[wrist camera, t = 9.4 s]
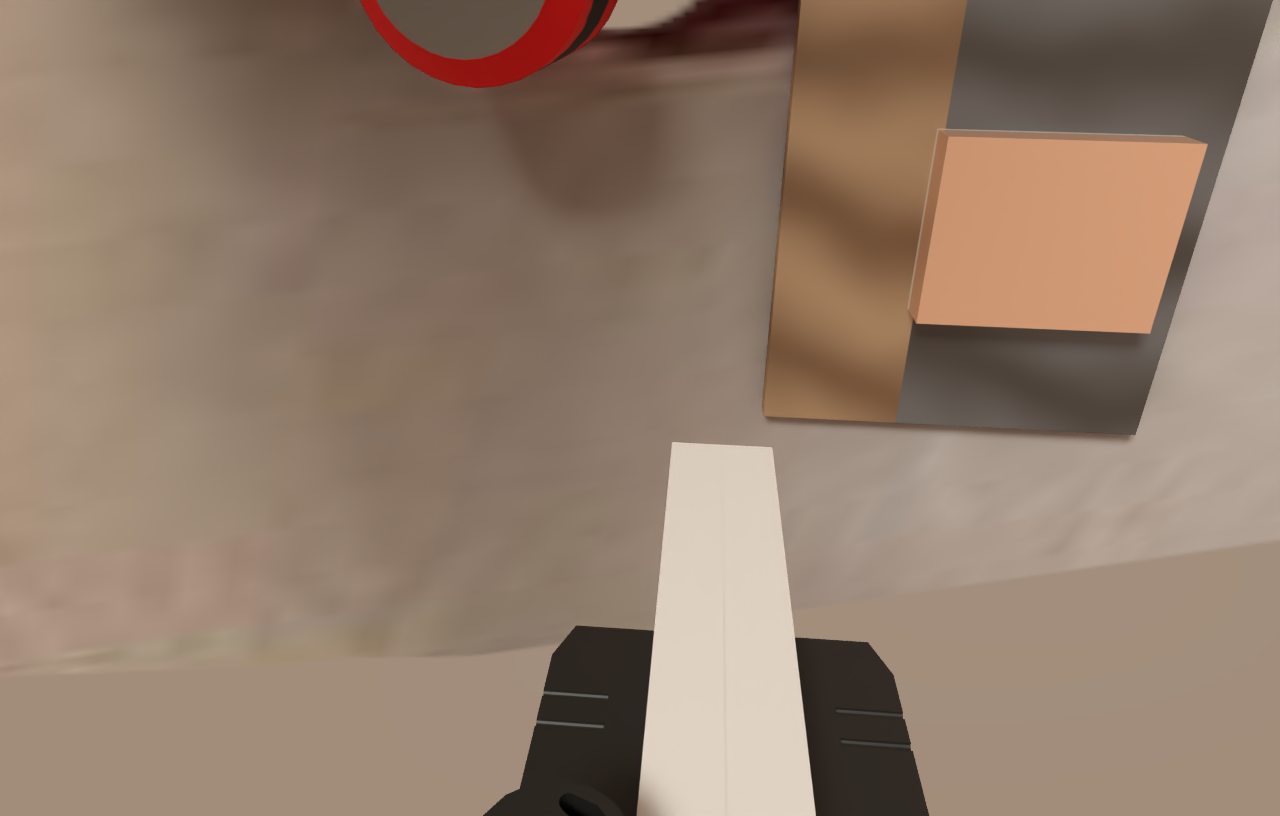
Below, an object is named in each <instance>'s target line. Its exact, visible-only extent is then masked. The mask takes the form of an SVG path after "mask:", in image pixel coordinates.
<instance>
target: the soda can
mask: <svg viewBox="0 0 1280 816" xmlns="http://www.w3.org/2000/svg"><path fill="white" fill-rule="evenodd" d="M360 1H361V3H362V6H363V8H364V10H365V11H366V13H367V15H368V16H369V18H370V20H371V21H372V23H373V25H374V27H375V28H376V30H377V31H378V32H379V33H380V35H381V36H382V37H383V38H384V39H385V41H386V42H387V43H388V44H389V45H390V47H391V48H392V49H393V50H394V51H395V52H397V53H398V54H399V55H400V56H401V57H402V58H404V59H405V60H406V61H407V62H408V63H410V64H411V65H412V66H414V67H415V68H417V69H419V70H421V71H422V72H424V73H426V74H428V75H429V76H431V77H433V78H436V79H439V80H442V81H444V82H447V83H450V84H453V85H458V86H466V87H474V88H483V87H495V86H502V85H505V84H508V83H511V82H515V81H518V80H521V79H523V78H525V77H527V76H529V75H531V74H532V73H534V72H536V71H538V70H540V69H542V68H544V67H546V66H548V65H550V64H552V63H553V62H555V61H557V60H559V59H561V58H563V57H565V56H567V55H569V54H570V53H572V52H574V51H576V50H578V49H579V48H581V47H583V46H585V45H586V44H587V43H588V42H589V41H590V40H591V39H592V38H594V37H595V36H596V35H597V34H598V33H599V31H600V30H601V29H602V27H603V26H604V25H605V23H606V22H607V21H608V19H609V18H610V16H611V13H612V11H613V9H614V7H615V5H616V3H617V0H360Z"/></svg>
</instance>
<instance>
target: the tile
mask: <svg viewBox="0 0 1280 816" xmlns="http://www.w3.org/2000/svg"><path fill="white" fill-rule="evenodd" d="M1207 146H1208V144H1206V143H1203V142H1200V141H1198V140H1195V139H1192V138H1189V137H1186V136H1177V135H1142V134H1108V133H1073V132H1038V131H1003V130H968V129H937V133H936V139H935V145H934V151H933V157H932V163H931V169H930V175H929V181H928V187H927V193H926V199H925V205H924V211H923V217H922V223H921V229H920V235H919V241H918V247H917V253H916V259H915V265H914V271H913V277H912V283H911V289H910V295H909V301H908V307H907V308H908V310H909V312H910V313H911V315H912V317H913V319H914V320H915V322H916V324H938V325H961V326H984V327H1008V328H1031V329H1054V330H1077V331H1101V332H1124V333H1147V334H1150V332H1151V329H1152V325H1153V322H1154V319H1155V316H1156V312H1157V309H1158V306H1159V303H1160V299H1161V296H1162V293H1163V290H1164V286H1165V283H1166V280H1167V276H1168V273H1169V270H1170V267H1171V263H1172V260H1173V257H1174V254H1175V250H1176V247H1177V244H1178V241H1179V237H1180V234H1181V231H1182V227H1183V224H1184V221H1185V218H1186V214H1187V211H1188V208H1189V205H1190V201H1191V198H1192V195H1193V192H1194V188H1195V185H1196V182H1197V178H1198V175H1199V172H1200V169H1201V165H1202V162H1203V159H1204V156H1205V152H1206V149H1207Z"/></svg>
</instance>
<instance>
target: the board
mask: <svg viewBox="0 0 1280 816" xmlns="http://www.w3.org/2000/svg"><path fill="white" fill-rule="evenodd" d="M1272 1H1273V0H799V1H798V12H797V23H796V34H795V45H794V56H793V68H792V79H791V90H790V101H789V112H788V123H787V134H786V145H785V157H784V168H783V179H782V190H781V201H780V212H779V223H778V234H777V245H776V257H775V268H774V279H773V290H772V301H771V312H770V323H769V334H768V346H767V357H766V368H765V379H764V390H763V401H762V409H763V416H770V417H790V418H810V419H829V420H849V421H869V422H889V423H909V424H929V425H949V426H968V427H988V428H1008V429H1028V430H1048V431H1068V432H1087V433H1107V434H1127V435H1136V431H1137V428H1138V425H1139V422H1140V419H1141V416H1142V412H1143V409H1144V406H1145V403H1146V400H1147V397H1148V394H1149V390H1150V387H1151V384H1152V381H1153V378H1154V375H1155V371H1156V368H1157V365H1158V362H1159V359H1160V356H1161V352H1162V349H1163V346H1164V343H1165V340H1166V337H1167V333H1168V330H1169V327H1170V324H1171V321H1172V318H1173V314H1174V311H1175V308H1176V305H1177V302H1178V299H1179V295H1180V292H1181V289H1182V286H1183V283H1184V280H1185V276H1186V273H1187V270H1188V267H1189V264H1190V261H1191V257H1192V254H1193V251H1194V248H1195V245H1196V242H1197V238H1198V235H1199V232H1200V229H1201V226H1202V223H1203V220H1204V216H1205V213H1206V210H1207V207H1208V204H1209V201H1210V197H1211V194H1212V191H1213V188H1214V185H1215V182H1216V178H1217V175H1218V172H1219V169H1220V166H1221V163H1222V159H1223V156H1224V153H1225V150H1226V147H1227V144H1228V140H1229V137H1230V134H1231V131H1232V128H1233V125H1234V121H1235V118H1236V115H1237V112H1238V109H1239V106H1240V102H1241V99H1242V96H1243V93H1244V90H1245V87H1246V83H1247V80H1248V77H1249V74H1250V71H1251V68H1252V64H1253V61H1254V58H1255V55H1256V52H1257V49H1258V46H1259V42H1260V39H1261V36H1262V33H1263V30H1264V27H1265V23H1266V20H1267V17H1268V14H1269V11H1270V8H1271V4H1272ZM937 129H968V130H1003V131H1038V132H1073V133H1108V134H1142V135H1177V136H1186V137H1189V138H1192V139H1195V140H1198V141H1200V142H1203V143H1206V144H1208V146H1207V149H1206V152H1205V156H1204V159H1203V162H1202V165H1201V169H1200V172H1199V175H1198V178H1197V182H1196V185H1195V188H1194V192H1193V195H1192V198H1191V201H1190V205H1189V208H1188V211H1187V214H1186V218H1185V221H1184V224H1183V227H1182V231H1181V234H1180V237H1179V241H1178V244H1177V247H1176V250H1175V254H1174V257H1173V260H1172V263H1171V267H1170V270H1169V273H1168V276H1167V280H1166V283H1165V286H1164V290H1163V293H1162V296H1161V299H1160V303H1159V306H1158V309H1157V312H1156V316H1155V319H1154V322H1153V325H1152V329H1151V332H1150V334H1147V333H1124V332H1101V331H1077V330H1054V329H1031V328H1008V327H984V326H961V325H938V324H916V322H915V320H914V319H913V317H912V315H911V313H910V312H909V310H908V308H907V307H908V301H909V295H910V289H911V283H912V277H913V271H914V265H915V259H916V253H917V247H918V241H919V235H920V229H921V223H922V217H923V211H924V205H925V199H926V193H927V187H928V181H929V175H930V169H931V163H932V157H933V151H934V145H935V139H936V133H937Z"/></svg>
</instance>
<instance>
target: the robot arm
mask: <svg viewBox="0 0 1280 816" xmlns="http://www.w3.org/2000/svg"><path fill="white" fill-rule="evenodd" d="M902 714H903V711H902V707H901V703H900V699H899V695H898V691H897V687H896V683H895V679H894V676H893V674H892V673H891V672H890V670H889V669H888V668H887V666H886V665H885V664H884V662H883V661H882V660H881V659H880V657H879V656H878V655H877V653H876V652H875V651H874V650H873V649H872V647H871V646H870V645H869V643H868V642H854V641H839V640H825V639H809V638H795V636H794V628H793V619H792V610H791V602H790V593H789V585H788V576H787V568H786V559H785V551H784V543H783V534H782V526H781V517H780V509H779V500H778V492H777V484H776V475H775V467H774V458H773V450H772V447H755V446H736V445H717V444H698V443H679V442H672V449H671V460H670V470H669V481H668V491H667V502H666V512H665V523H664V533H663V544H662V554H661V565H660V575H659V586H658V596H657V607H656V617H655V628H654V631H650V630H635V629H620V628H605V627H590V626H576V627H575V628H574V629H573V630H572V631H571V633H570V634H569V635H568V636H567V637H566V639H565V640H564V641H563V642H562V643H561V645H560V646H559V647H558V648H557V649H556V651H555V652H554V653H553V654H552V658H551V662H550V666H549V670H548V674H547V678H546V683H545V687H544V695H543V696H542V699H541V703H540V707H539V712H538V716H537V724H536V726H535V728H534V732H533V737H532V740H531V744H530V749H529V753H528V757H527V761H526V765H525V769H524V773H523V778H522V782H521V786H520V789H518V790H516V791H514V792H512V793H509V794H507V795H505V796H504V797H503V798H502V799H501V800H500V801H499V802H497V803H496V805H494V806H493V807H492V808H491V809H490V810H489V811H488V812H487V813H485V814H484V815H483V816H929V813H928V809H927V806H926V802H925V798H924V794H923V790H922V786H921V782H920V778H919V774H918V770H917V766H916V762H915V758H914V754H913V751H911V748H910V744H911V742H910V739H909V735H908V731H907V727H906V723H905V720H904V719H903V715H902Z"/></svg>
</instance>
